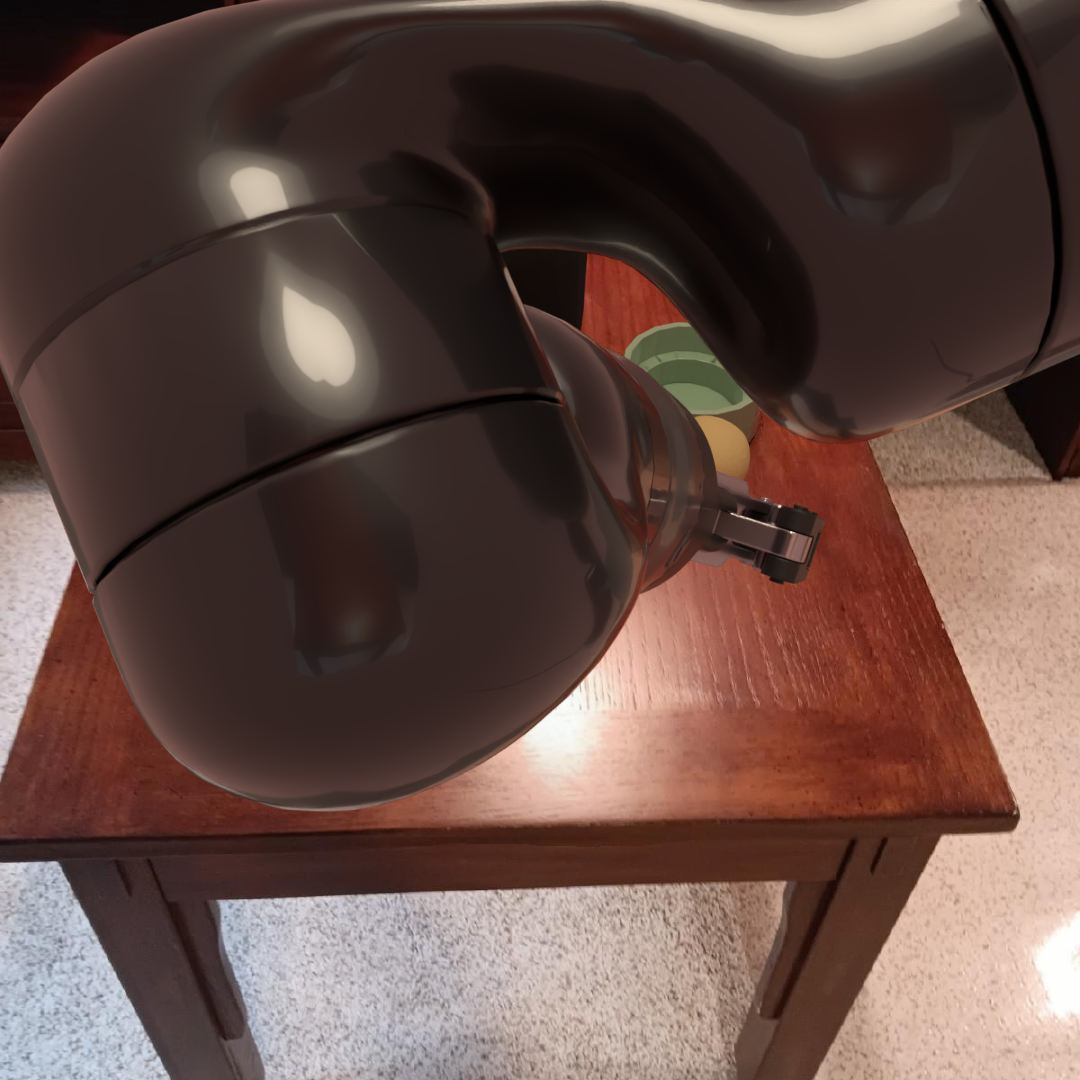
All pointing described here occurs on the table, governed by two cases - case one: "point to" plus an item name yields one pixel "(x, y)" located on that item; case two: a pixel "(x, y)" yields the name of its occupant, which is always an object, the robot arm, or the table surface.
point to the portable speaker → (550, 281)
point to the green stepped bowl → (693, 375)
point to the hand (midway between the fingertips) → (658, 498)
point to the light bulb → (726, 446)
